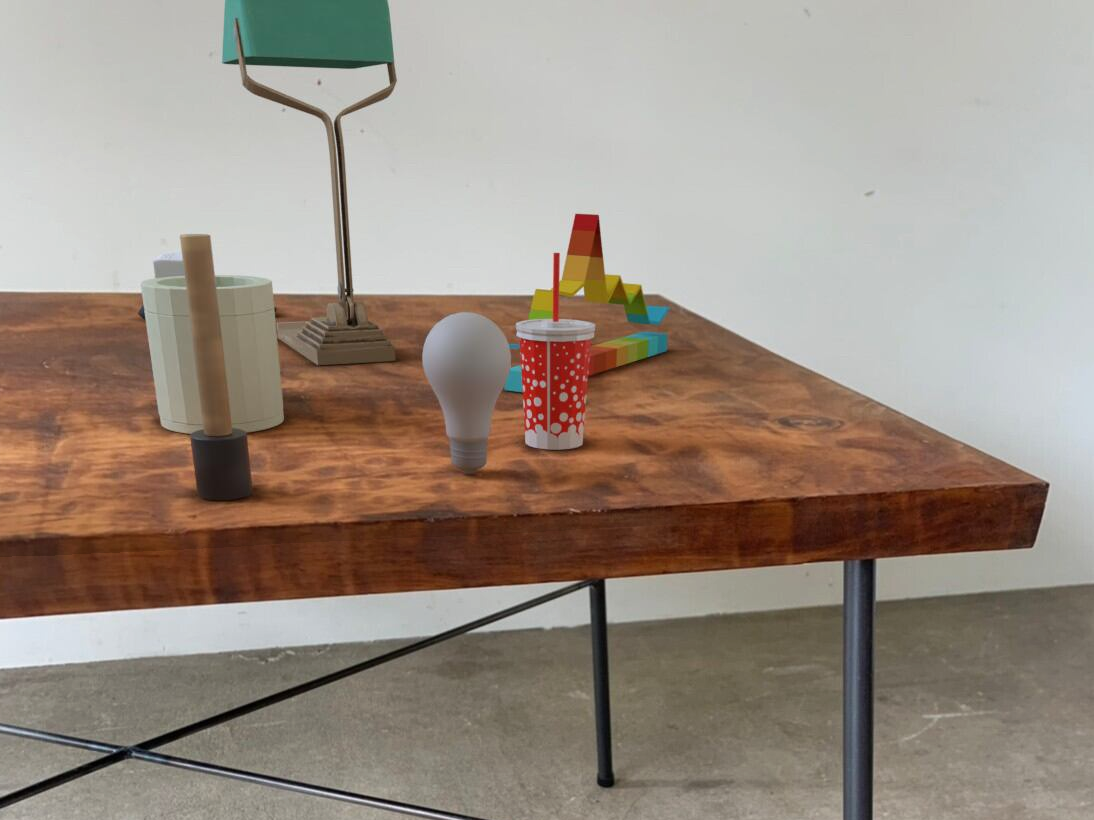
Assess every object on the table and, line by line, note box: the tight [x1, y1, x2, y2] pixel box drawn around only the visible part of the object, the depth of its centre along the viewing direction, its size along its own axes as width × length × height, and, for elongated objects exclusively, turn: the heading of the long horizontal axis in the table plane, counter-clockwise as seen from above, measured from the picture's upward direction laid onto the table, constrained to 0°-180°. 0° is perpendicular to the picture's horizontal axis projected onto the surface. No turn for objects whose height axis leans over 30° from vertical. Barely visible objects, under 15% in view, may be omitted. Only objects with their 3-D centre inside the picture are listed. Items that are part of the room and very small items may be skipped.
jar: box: [140, 274, 285, 435], centre depth 95 cm, size 10×10×11 cm
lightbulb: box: [421, 311, 512, 475], centre depth 81 cm, size 6×6×11 cm
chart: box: [504, 213, 670, 393], centre depth 119 cm, size 30×3×15 cm, turn 150°
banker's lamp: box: [221, 0, 398, 366], centre depth 123 cm, size 16×21×35 cm
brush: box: [179, 233, 254, 502], centre depth 74 cm, size 4×4×16 cm
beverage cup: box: [515, 252, 596, 451], centre depth 89 cm, size 6×6×14 cm
